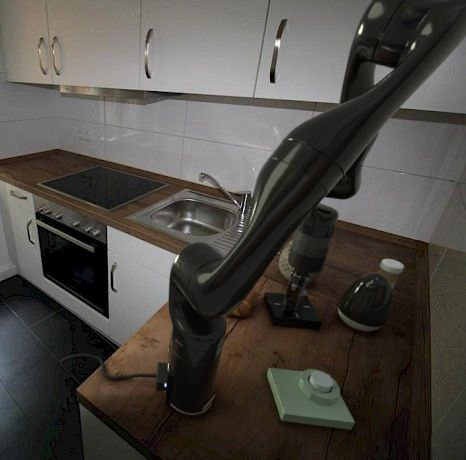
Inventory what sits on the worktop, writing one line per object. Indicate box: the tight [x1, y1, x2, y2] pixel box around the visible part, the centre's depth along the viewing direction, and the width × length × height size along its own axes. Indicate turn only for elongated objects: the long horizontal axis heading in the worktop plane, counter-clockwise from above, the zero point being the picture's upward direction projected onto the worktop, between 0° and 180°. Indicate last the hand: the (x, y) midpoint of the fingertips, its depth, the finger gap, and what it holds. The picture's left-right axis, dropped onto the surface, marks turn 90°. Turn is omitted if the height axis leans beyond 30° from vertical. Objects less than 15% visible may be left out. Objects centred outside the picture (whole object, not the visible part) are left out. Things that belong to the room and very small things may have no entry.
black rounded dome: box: [337, 271, 393, 332], centre depth 77 cm, size 10×10×15 cm
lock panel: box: [262, 291, 323, 331], centre depth 82 cm, size 11×10×3 cm
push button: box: [309, 370, 333, 393], centre depth 60 cm, size 4×4×2 cm
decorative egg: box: [278, 239, 327, 284], centre depth 93 cm, size 12×12×15 cm
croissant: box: [227, 292, 256, 318], centre depth 86 cm, size 12×11×4 cm
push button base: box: [266, 367, 356, 431], centre depth 61 cm, size 12×10×4 cm
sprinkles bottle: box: [377, 258, 405, 290], centre depth 84 cm, size 5×5×13 cm
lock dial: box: [283, 287, 308, 311], centre depth 81 cm, size 4×4×5 cm
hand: (291, 304), depth 82 cm, fingers closed on lock dial, 4 cm apart
